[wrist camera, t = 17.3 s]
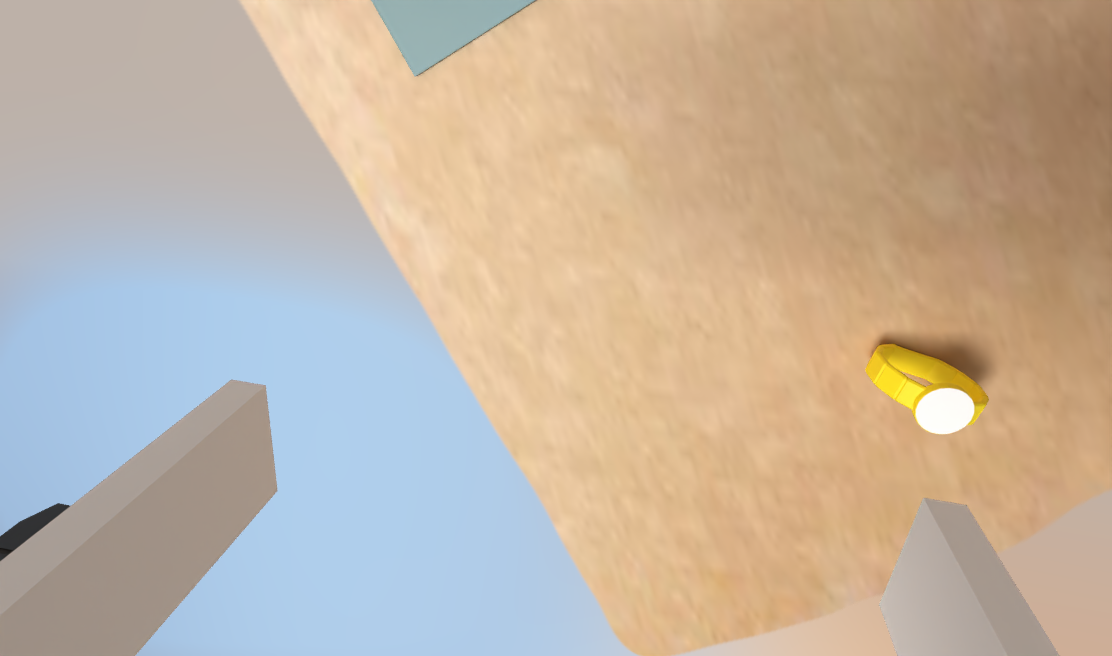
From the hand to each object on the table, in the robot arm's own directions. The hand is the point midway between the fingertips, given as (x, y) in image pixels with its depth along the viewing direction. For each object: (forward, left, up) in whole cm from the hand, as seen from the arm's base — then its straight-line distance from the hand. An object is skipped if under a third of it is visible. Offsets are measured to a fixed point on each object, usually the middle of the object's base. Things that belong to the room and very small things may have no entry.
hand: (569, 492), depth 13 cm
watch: (-10, +16, -27) cm, 33 cm away
